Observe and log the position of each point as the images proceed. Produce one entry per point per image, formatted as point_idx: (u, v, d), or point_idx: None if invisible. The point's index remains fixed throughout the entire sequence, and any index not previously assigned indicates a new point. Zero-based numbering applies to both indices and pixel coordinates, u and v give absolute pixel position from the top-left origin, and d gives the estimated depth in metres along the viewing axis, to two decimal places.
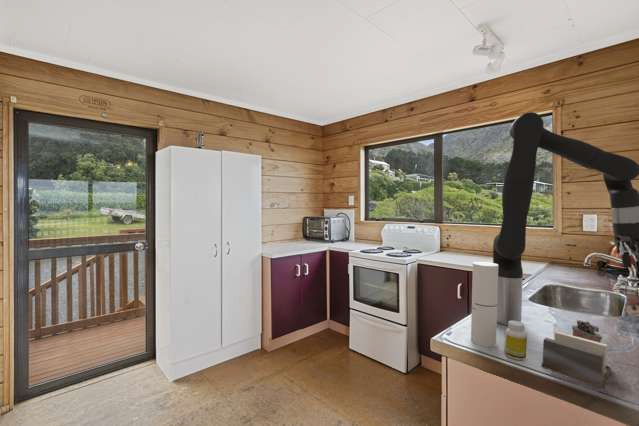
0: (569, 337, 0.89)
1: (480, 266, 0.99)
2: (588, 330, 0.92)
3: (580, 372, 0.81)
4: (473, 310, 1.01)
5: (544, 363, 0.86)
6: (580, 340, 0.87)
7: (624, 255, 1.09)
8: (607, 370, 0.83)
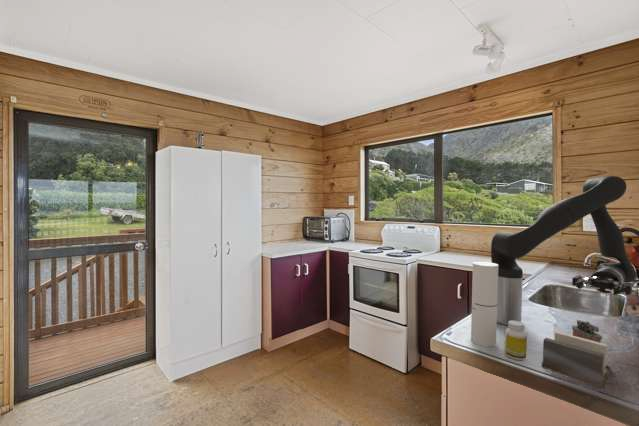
0: (569, 337, 0.89)
1: (480, 266, 0.99)
2: (588, 330, 0.92)
3: (580, 372, 0.81)
4: (473, 310, 1.01)
5: (544, 363, 0.86)
6: (580, 340, 0.87)
7: (582, 282, 1.05)
8: (607, 370, 0.83)
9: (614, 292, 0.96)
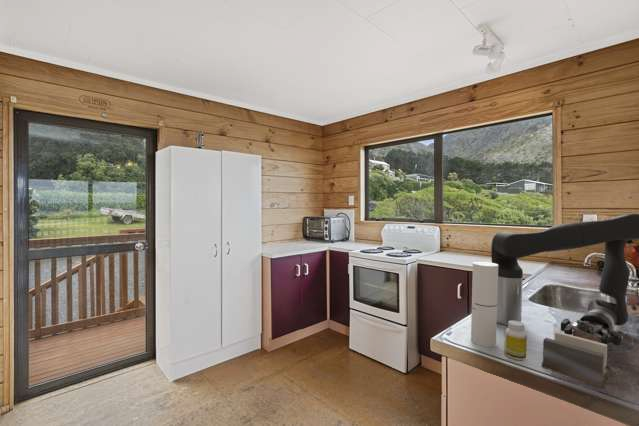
0: (569, 337, 0.89)
1: (480, 266, 0.99)
2: (588, 330, 0.92)
3: (580, 372, 0.81)
4: (473, 310, 1.01)
5: (544, 363, 0.86)
6: (580, 340, 0.87)
7: None
8: (607, 370, 0.83)
9: None
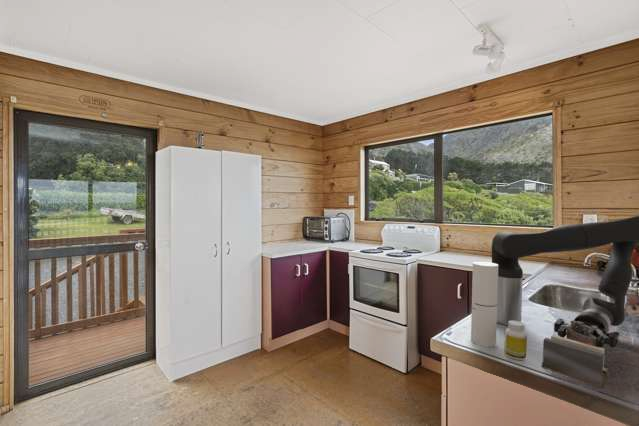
0: (565, 341, 0.87)
1: (480, 266, 0.99)
2: (582, 331, 0.87)
3: (580, 372, 0.81)
4: (473, 310, 1.01)
5: (544, 363, 0.86)
6: (577, 344, 0.85)
7: None
8: (607, 370, 0.83)
9: (596, 345, 0.83)
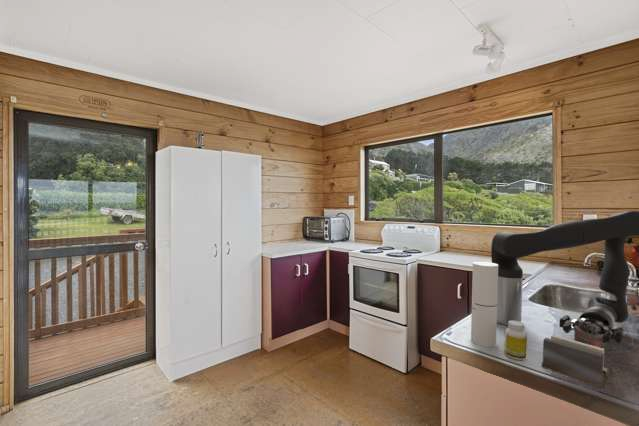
0: (565, 341, 0.87)
1: (480, 266, 0.99)
2: (590, 330, 0.91)
3: (580, 372, 0.81)
4: (473, 310, 1.01)
5: (544, 363, 0.86)
6: (577, 344, 0.85)
7: (570, 324, 0.97)
8: (607, 370, 0.83)
9: (603, 340, 0.88)
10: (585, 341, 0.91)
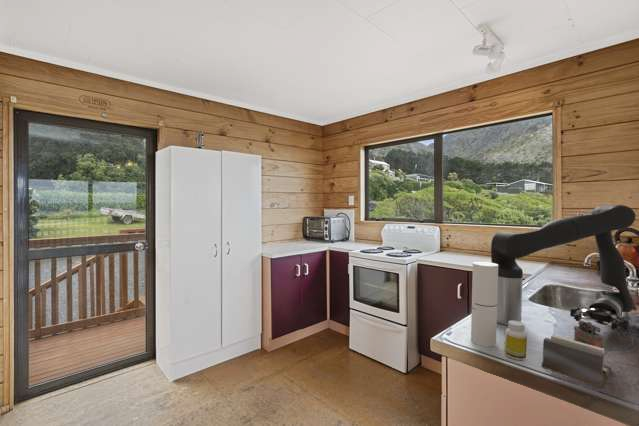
0: (565, 341, 0.87)
1: (480, 266, 0.99)
2: (590, 330, 0.91)
3: (580, 372, 0.81)
4: (473, 310, 1.01)
5: (544, 363, 0.86)
6: (577, 344, 0.85)
7: None
8: (607, 370, 0.83)
9: (612, 327, 0.96)
10: (585, 341, 0.91)
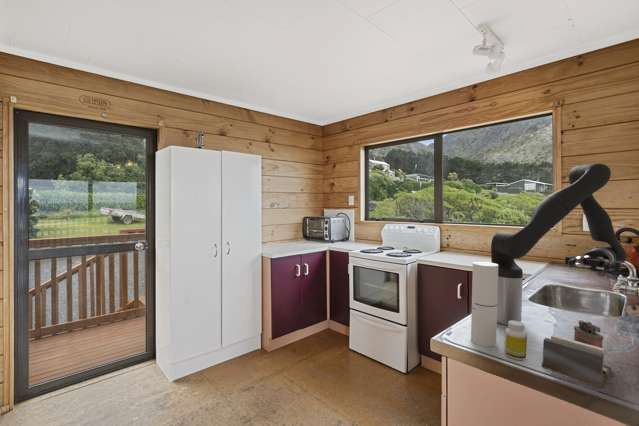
0: (565, 341, 0.87)
1: (480, 266, 0.99)
2: (590, 330, 0.91)
3: (580, 372, 0.81)
4: (473, 310, 1.01)
5: (544, 363, 0.86)
6: (577, 344, 0.85)
7: (575, 260, 1.09)
8: (607, 370, 0.83)
9: (604, 268, 1.00)
10: (585, 341, 0.91)
